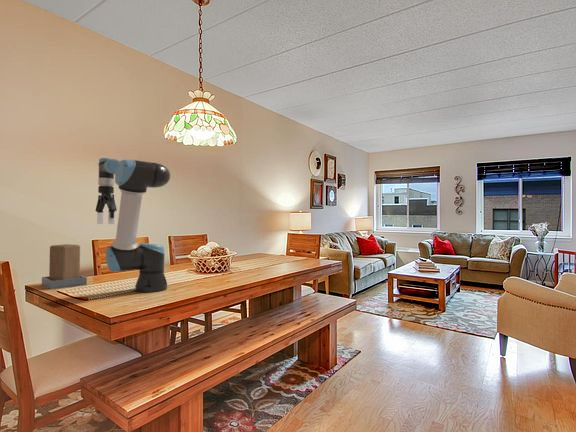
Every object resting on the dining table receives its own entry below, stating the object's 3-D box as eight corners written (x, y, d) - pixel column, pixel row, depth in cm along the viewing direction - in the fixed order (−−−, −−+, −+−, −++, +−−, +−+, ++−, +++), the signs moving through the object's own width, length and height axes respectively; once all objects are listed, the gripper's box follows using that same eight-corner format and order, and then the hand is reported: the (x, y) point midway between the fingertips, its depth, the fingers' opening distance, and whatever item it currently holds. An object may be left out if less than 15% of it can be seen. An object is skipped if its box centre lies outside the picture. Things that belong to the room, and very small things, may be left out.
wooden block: (62, 285, 167) (63, 246, 167) (48, 284, 170) (48, 245, 170) (80, 282, 176) (81, 244, 176) (66, 280, 179) (67, 244, 179)
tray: (86, 284, 174) (86, 277, 174) (50, 289, 162) (50, 281, 162) (76, 280, 185) (76, 273, 185) (41, 284, 172) (41, 277, 172)
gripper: (123, 185, 179) (123, 224, 178) (103, 188, 194) (102, 223, 194) (109, 184, 173) (108, 224, 172) (89, 186, 188) (88, 223, 188)
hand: (105, 224), depth 183 cm, fingers open, 13 cm apart
